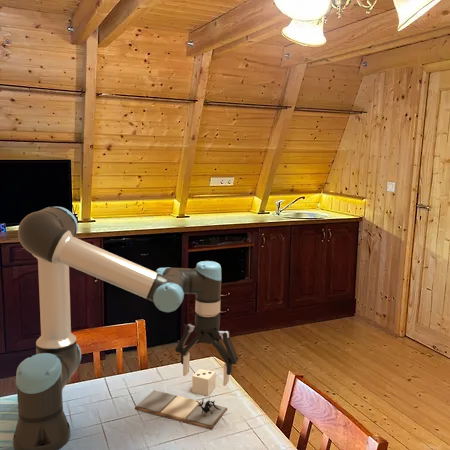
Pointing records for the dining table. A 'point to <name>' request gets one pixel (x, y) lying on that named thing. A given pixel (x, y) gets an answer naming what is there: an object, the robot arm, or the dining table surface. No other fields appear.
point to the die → (203, 382)
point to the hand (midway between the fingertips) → (205, 378)
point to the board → (180, 409)
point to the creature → (206, 408)
